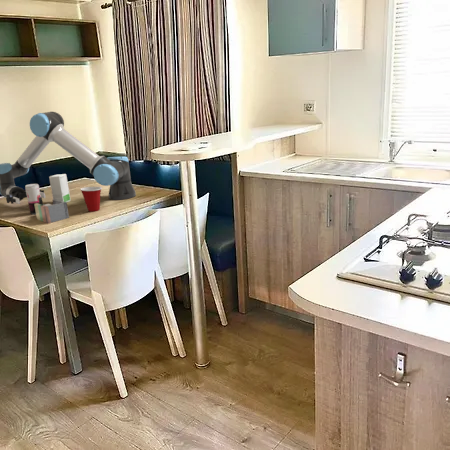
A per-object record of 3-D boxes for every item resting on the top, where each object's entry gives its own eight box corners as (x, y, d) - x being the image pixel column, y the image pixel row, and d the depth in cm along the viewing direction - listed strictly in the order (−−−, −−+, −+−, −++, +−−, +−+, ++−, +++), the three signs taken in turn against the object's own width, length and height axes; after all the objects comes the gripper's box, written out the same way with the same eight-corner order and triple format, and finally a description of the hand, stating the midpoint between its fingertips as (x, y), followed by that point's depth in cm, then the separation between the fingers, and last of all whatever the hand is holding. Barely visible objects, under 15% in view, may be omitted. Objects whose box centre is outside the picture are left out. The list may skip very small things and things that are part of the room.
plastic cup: (109, 209, 247) (106, 186, 243) (91, 214, 239) (87, 190, 236) (97, 206, 254) (94, 184, 250) (79, 211, 246) (75, 188, 243)
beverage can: (45, 212, 248) (40, 184, 244) (33, 215, 244) (27, 187, 240) (40, 210, 253) (35, 183, 248) (28, 213, 249) (23, 185, 244)
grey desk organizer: (37, 219, 236) (34, 203, 234) (57, 214, 244) (55, 199, 241) (47, 223, 228) (45, 207, 226) (69, 217, 235) (66, 202, 233)
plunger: (35, 215, 242) (31, 195, 238) (46, 212, 246) (43, 193, 242) (44, 218, 235) (40, 198, 232) (55, 215, 239) (52, 195, 236)
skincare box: (63, 204, 263) (58, 176, 259) (52, 204, 265) (48, 176, 260) (71, 200, 271) (66, 173, 267) (60, 200, 273) (56, 173, 268)
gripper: (38, 195, 271) (55, 200, 256) (-7, 205, 255) (9, 210, 240) (36, 182, 269) (53, 186, 254) (-9, 191, 252) (6, 196, 238)
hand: (32, 198), depth 247 cm, fingers open, 13 cm apart
